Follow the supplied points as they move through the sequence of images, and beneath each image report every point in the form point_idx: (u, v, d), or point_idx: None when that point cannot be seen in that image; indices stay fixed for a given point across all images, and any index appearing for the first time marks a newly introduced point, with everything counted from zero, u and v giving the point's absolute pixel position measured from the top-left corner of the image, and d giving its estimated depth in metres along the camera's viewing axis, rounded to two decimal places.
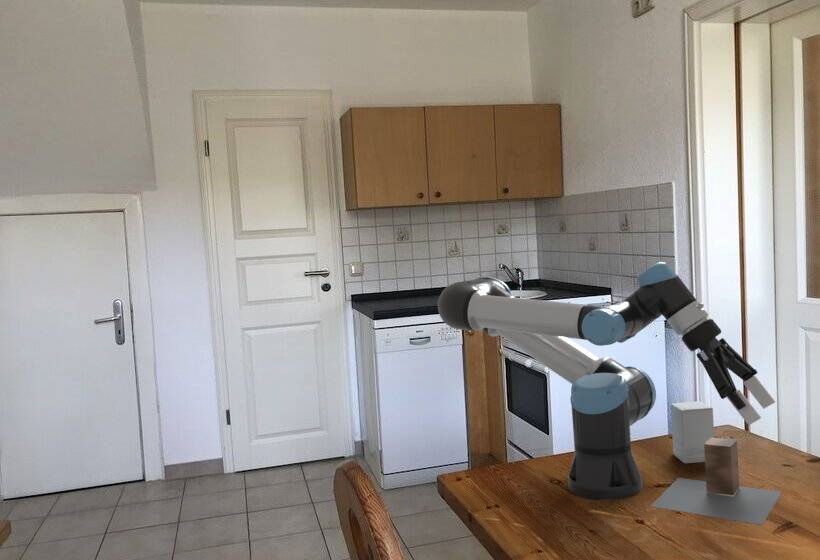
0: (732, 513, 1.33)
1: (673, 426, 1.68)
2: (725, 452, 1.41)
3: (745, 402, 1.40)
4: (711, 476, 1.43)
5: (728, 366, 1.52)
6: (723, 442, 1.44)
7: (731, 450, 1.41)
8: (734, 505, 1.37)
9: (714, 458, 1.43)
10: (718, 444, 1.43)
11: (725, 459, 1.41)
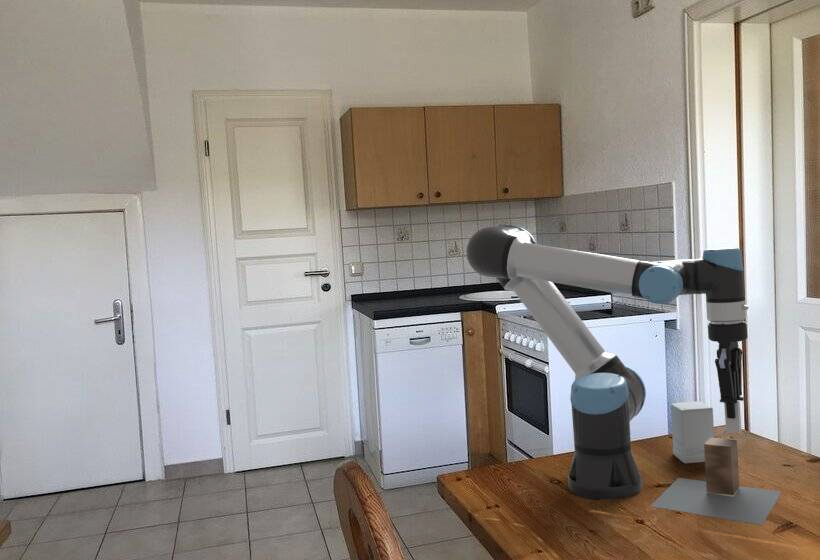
0: (732, 513, 1.33)
1: (673, 426, 1.68)
2: (725, 452, 1.41)
3: (736, 415, 1.50)
4: (711, 476, 1.43)
5: None
6: (723, 442, 1.44)
7: (731, 450, 1.41)
8: (734, 505, 1.37)
9: (714, 458, 1.43)
10: (718, 444, 1.43)
11: (725, 459, 1.41)
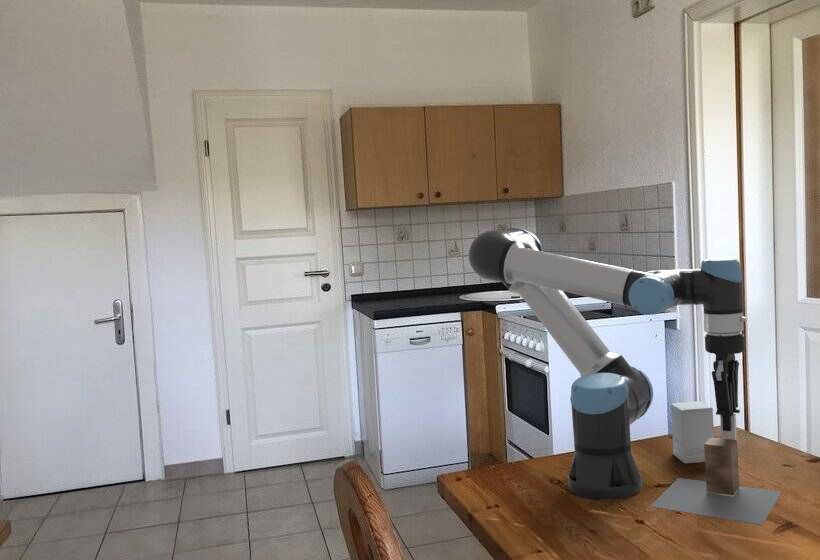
0: (732, 513, 1.33)
1: (673, 426, 1.68)
2: (725, 452, 1.41)
3: (732, 427, 1.49)
4: (711, 476, 1.43)
5: None
6: (723, 442, 1.44)
7: (731, 450, 1.41)
8: (734, 505, 1.37)
9: (714, 458, 1.43)
10: (718, 444, 1.43)
11: (725, 459, 1.41)
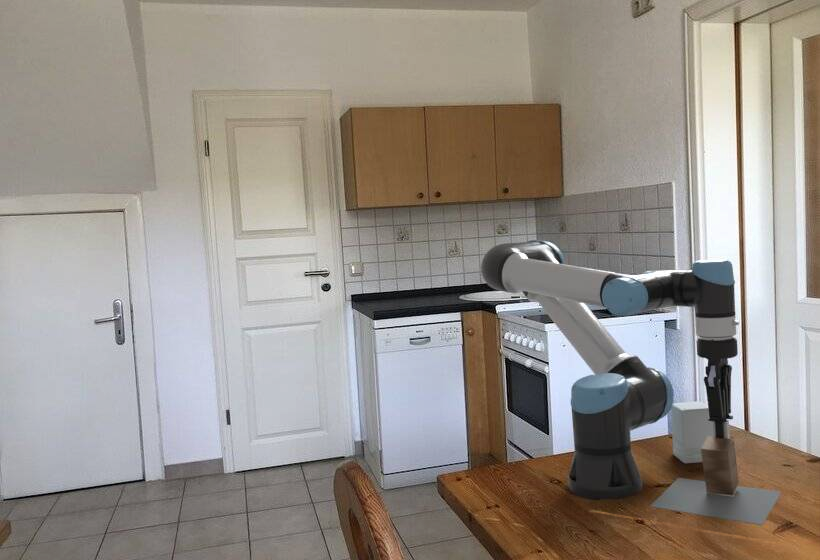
0: (732, 513, 1.33)
1: (673, 426, 1.68)
2: (722, 456, 1.40)
3: (725, 434, 1.44)
4: (710, 477, 1.43)
5: None
6: (720, 443, 1.42)
7: (728, 454, 1.39)
8: (734, 505, 1.37)
9: (712, 461, 1.41)
10: (715, 447, 1.41)
11: (723, 463, 1.40)
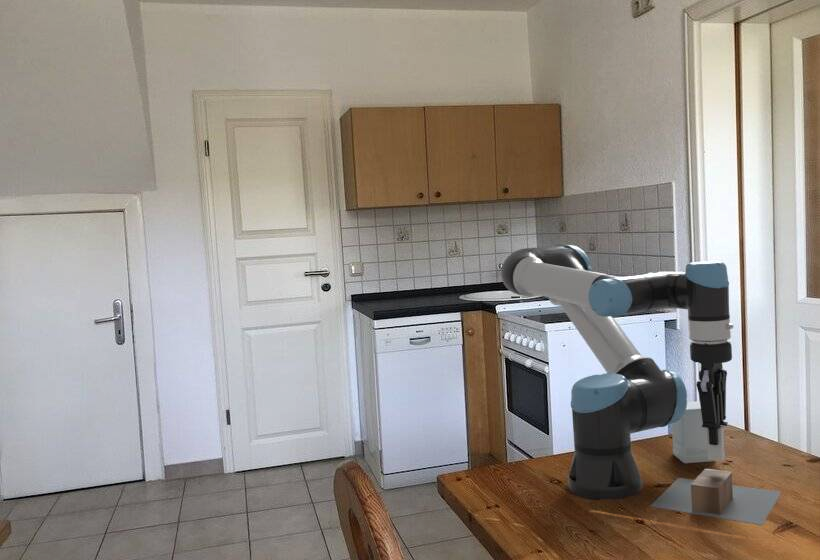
0: (732, 513, 1.33)
1: (673, 426, 1.68)
2: None
3: (719, 441, 1.40)
4: None
5: None
6: (708, 499, 1.34)
7: (720, 510, 1.34)
8: (734, 505, 1.37)
9: None
10: (705, 506, 1.35)
11: None
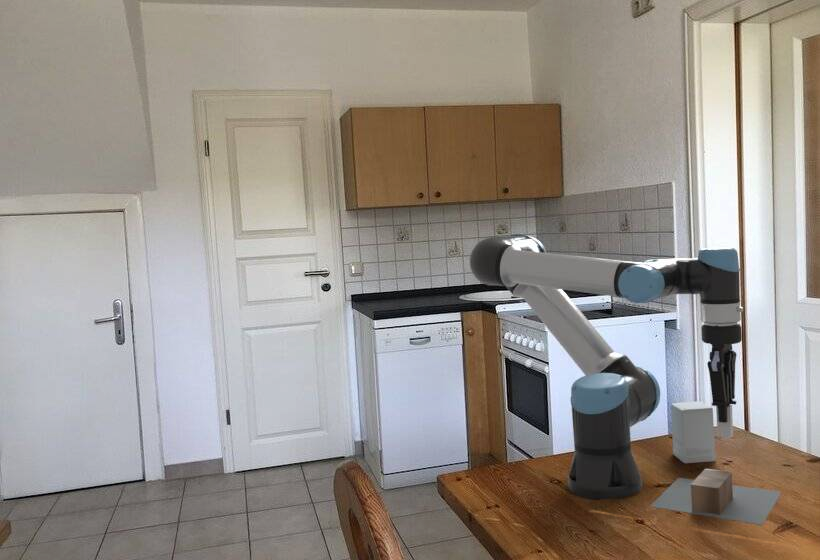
0: (732, 513, 1.33)
1: (673, 426, 1.68)
2: None
3: (728, 419, 1.47)
4: None
5: None
6: (708, 499, 1.34)
7: (720, 510, 1.34)
8: (734, 505, 1.37)
9: None
10: (705, 506, 1.35)
11: None
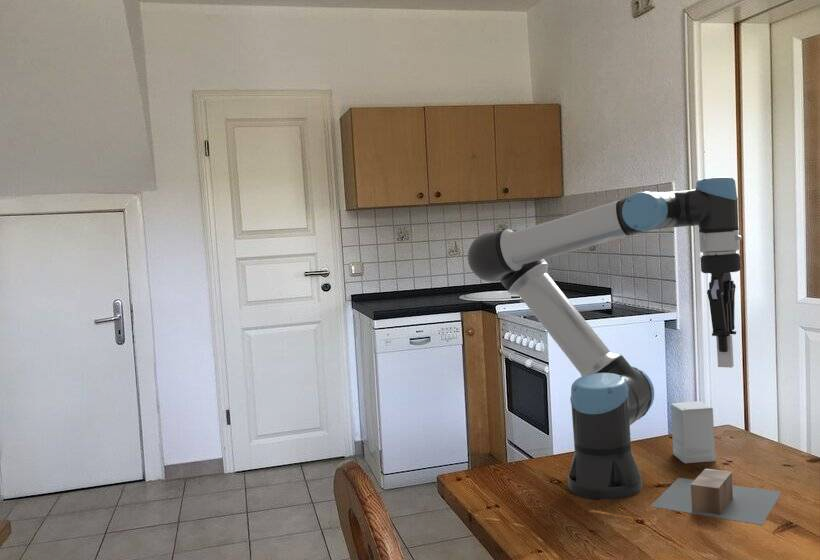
0: (732, 513, 1.33)
1: (673, 426, 1.68)
2: None
3: (728, 348, 1.48)
4: None
5: None
6: (708, 499, 1.34)
7: (720, 510, 1.34)
8: (734, 505, 1.37)
9: None
10: (705, 506, 1.35)
11: None
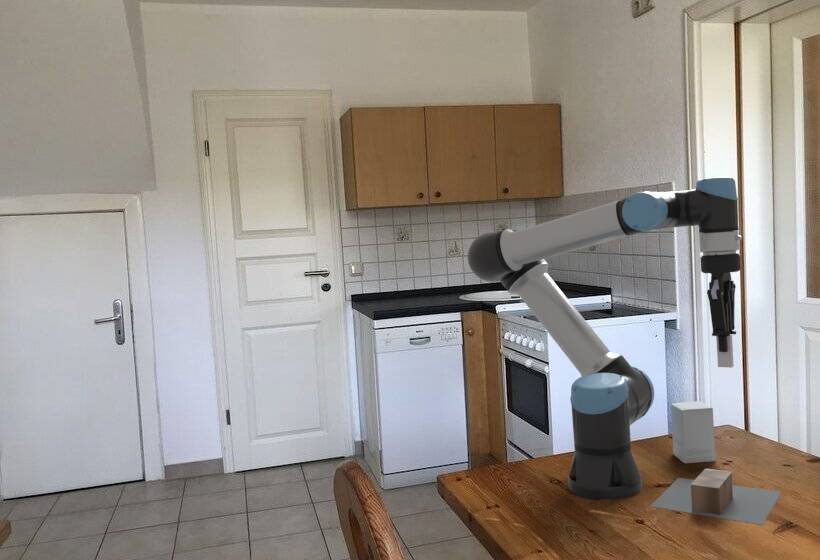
0: (732, 513, 1.33)
1: (673, 426, 1.68)
2: None
3: (728, 348, 1.48)
4: None
5: None
6: (708, 499, 1.34)
7: (720, 510, 1.34)
8: (734, 505, 1.37)
9: None
10: (705, 506, 1.35)
11: None
